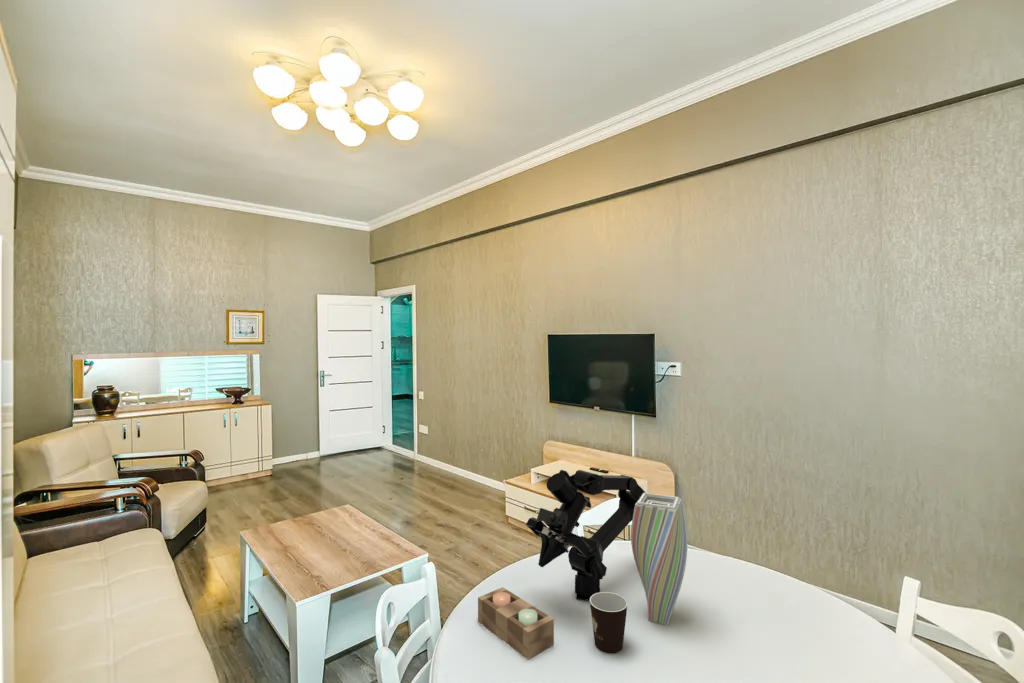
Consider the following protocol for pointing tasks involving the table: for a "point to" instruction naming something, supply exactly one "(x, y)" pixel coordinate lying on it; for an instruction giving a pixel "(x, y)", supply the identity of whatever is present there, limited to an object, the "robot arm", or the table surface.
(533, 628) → the wooden compartment box
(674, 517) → the vase
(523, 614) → the pale green egg
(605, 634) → the brown paper cup
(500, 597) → the peach orange egg
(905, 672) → the table surface
